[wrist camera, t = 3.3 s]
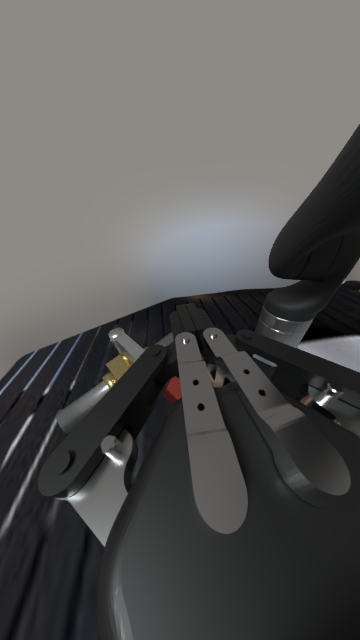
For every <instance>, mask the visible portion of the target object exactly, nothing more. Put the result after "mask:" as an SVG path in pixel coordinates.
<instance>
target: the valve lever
mask: <svg viewBox="0 0 360 640" xmlns="http://www.w3.org/2000/svg"><path fill="white" fill-rule="evenodd" d="M109 337H110V339H111V341H112V343H113V345H114V347H115V348H117V349H120V350H121V351H122V353H123V354H124V355H125V356H126V357H127V358H128V359H129V360H130V361H131V362H132V363H134V362H135V361H136V360H137V359H138V358H139V357H140V356H141V354H142V353H143V352H144V351H145V350H144V349H142V348H141V347H140V346H139V345H138V344H137V343H135V342H134V341H133V340H132V339H131V338H130V337H129V336H127V335H126V334H125V333H124V330H123V329H122V328H115V329H113V330H111V331H110V332H109ZM163 395H164V396H165V397H166V398H167V400H168V401H169V402H170V403H171V404H172V405H173V404H174V403H175V402H176V401H177V400H179V399H180V398H182V397H181V388H180V380H179V379H178V378H177V377H176V376H175V377H173V378H171V380H170V383H169V384H168V386H167V387H166V389H165V391H164V392H163Z"/></svg>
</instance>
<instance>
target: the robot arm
mask: <svg viewBox="0 0 360 640" xmlns="http://www.w3.org/2000/svg"><path fill="white" fill-rule="evenodd" d="M359 258H360V125H359V126H358V127H357V129H356V130H355V132H354V133H353V135H352V136H351V138H350V139H349V141H348V142H347V144H346V145H345V146H344V148H343V150H342V151H341V152H340V154H339V155H338V157H337V158H336V160H335V161H334V163H333V164H332V166H331V167H330V168H329V169H328V171H327V172H326V174H325V175H324V177H323V178H322V179H321V181H320V182H319V183H318V185H317V186H316V187H315V188H314V190H313V191H312V192H311V193H310V195H309V196H308V197H307V198H306V200H305V201H304V202H303V203H302V205H301V206H300V207H299V208H298V210H297V211H296V212H295V213H294V215H293V216H292V217H291V218H290V220H289V221H288V222H287V223H286V225H285V226H284V227H283V229H282V230H281V232H280V233H279V235H278V237H277V238H276V240H275V242H274V244H273V247H272V249H271V252H270V255H269V269H270V271H271V273H272V274H273V275H274V276H276V277H278V278H282V279H292V280H301V281H299V282H297V283H295V284H293V285H291V286H287V287H283V288H279V289H276V290H273V291H271V292H270V293H269V294H268V295H267V297H266V299H265V302H264V305H263V308H262V311H261V314H260V318H259V321H258V324H257V327H256V330H255V332H253V331H250V330H239V331H238V332H237V334H236V335H226V334H224V333H223V332H222V331H221V330H219V329H217V328H215V327H214V325H213V323H212V322H211V320H210V319H209V317H208V315H207V314H206V312H205V311H204V310H203V309H201V308H196V306H195V305H194V303H192V304H186V305H179V306H176V309H177V312H171V315H170V322H171V330H172V334H173V339H174V341H173V342H172V343H171V344H170V345H168V346H166V347H164V346H162V345H159V344H156V345H152V346H150V347H148V348H147V349H146V350H145V351H144V352H143V353H142V354H141V356H140V357H139V358H138V359H137V360H136V361H135V362H134V363H133V364H132V365H131V367H130V368H129V369H128V370H127V371H126V372H125V373H124V374H123V375H122V376H121V378H120V379H119V380H118V381H117V382H116V383H115V384H114V385H113V386H112V387H111V389H110V390H109V391H108V392H107V393H106V394H105V395H104V396H103V397H102V398H101V400H100V401H99V402H98V403H97V404H96V405H95V406H94V407H93V408H92V410H91V411H90V412H89V413H88V414H87V415H86V416H85V417H84V418H83V419H82V421H81V422H80V423H79V424H78V425H77V426H76V427H75V428H74V429H73V430H72V432H71V433H70V434H69V435H68V436H67V437H66V438H65V439H64V440H63V441H62V443H61V444H60V445H59V446H58V447H57V448H56V449H55V450H54V451H53V452H52V454H51V455H50V456H49V457H48V459H47V460H46V462H45V463H44V465H43V467H42V469H41V472H40V475H39V479H38V488H39V491H40V493H41V494H42V495H44V496H49V497H56V498H57V499H59V500H64V501H69V502H70V503H71V504H72V506H73V507H74V508H75V510H76V511H77V512H78V513H79V515H80V516H81V517H82V518H83V520H84V521H85V522H86V524H87V525H88V526H89V527H90V529H91V530H92V531H93V533H94V534H95V535H96V536H97V538H98V539H99V540H100V541H101V543H102V544H103V545H104V547H105V548H104V552H103V556H102V561H101V566H100V572H99V580H98V594H97V612H98V624H99V631H100V637H101V640H360V373H359V372H357V371H354V370H352V369H349V368H346V367H344V366H341V365H339V364H336V363H333V362H331V361H328V360H326V359H323V358H320V357H318V356H315V355H313V354H310V353H307V352H305V351H302V350H300V349H297V348H296V347H297V346H298V344H299V342H300V341H301V339H302V337H303V336H304V334H305V333H306V331H307V329H308V327H309V326H310V324H311V322H312V321H313V319H314V317H315V316H316V314H317V313H318V312H319V311H321V310H322V309H323V308H324V307H325V306H326V305H327V304H328V302H329V301H330V299H331V298H332V296H333V295H334V293H335V292H336V291H337V289H338V288H339V287H340V285H341V284H342V282H343V281H344V280H345V278H346V277H347V275H348V274H349V273H350V272H351V270H352V268H353V267H354V265H355V264H356V263H357V261H358V260H359ZM200 353H201V354H200ZM201 355H202V358H201ZM178 374H179V379H180V388H181V397H182V398H180V399H179V400H177V401H176V402H175V403H174V404H173V405H172V406H171V408H170V409H169V410H168V412H167V414H166V416H165V418H164V420H163V422H162V424H161V426H160V428H159V430H158V432H157V434H156V436H155V438H154V440H153V442H152V445H151V447H150V449H149V451H148V453H147V455H146V457H145V459H144V461H143V463H142V465H141V467H140V469H139V471H138V473H137V476H136V478H135V480H134V482H133V484H132V486H131V476H132V471H133V468H134V465H135V463H136V461H137V457H138V446H137V443H136V441H135V439H136V437H137V436H138V434H139V432H140V431H141V429H142V427H143V426H144V424H145V422H146V421H147V419H148V417H149V416H150V414H151V412H152V411H153V409H154V407H155V406H156V404H157V402H158V401H159V399H160V397H161V396H162V394H163V392H164V391H165V389H166V387H167V386H168V384H169V383H170V380H171V378H173V377H175V376H177V375H178ZM211 381H212V382H211ZM212 384H213V386H212Z"/></svg>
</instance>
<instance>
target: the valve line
mask: <svg viewBox="0 0 360 640" xmlns="http://www.w3.org/2000/svg"><path fill="white" fill-rule="evenodd" d="M173 341H174V339H173V334H172V332H171V333H170V334H168V335H167V336H165V337H164V338H163V339H161V340H160V341H158V342H157V343H156V344H159V345H162V346H164V347H166V346H168V345H170V344H171V343H172V342H173ZM156 344H154V345H156ZM147 348H148V347H147V346H146V347H145V348H143V349H144V350H146V349H147ZM118 351H119V353H120V355H119V356H118V357H116V358H115V359H113V360H111V361H110V362H108V363H107V364H106V366H107V367H108V369H109V371H110V372H109V373H107V374H106V375H104V376H103V377H102V379H103V380H104V381H102V382H101V383H99V384H98V385H97V386H95V387H94V388H92V389H91V390H90V391H88V392H87V393H85V394H84V395H82V396H81V397H80V398H78V399H77V400H75V401H74V402H73V403H71V404H70V405H68V406H67V407H66V408H64V409H63V410H61V411H60V412H59V413H57V414H56V419H57V421H58V424H59V425H60V427H61V428H62V430H63V431H64V432H65V433H67V434H70V433H71V432H72V430H73V429H74V428H75V427H76V426H77V425H78V424H79V423H80V422H81V421H82V419H83V418H84V417H85V416H86V415H87V414H88V413H89V412H90V411H91V410H92V408H93V407H94V406H95V405H96V404H97V403H98V402H99V401H100V400H101V398H102V397H103V396H104V395H105V394H106V393H107V392H108V391H109V390H110V389H111V387H112V386H113V385H114V384H115V383H116V382H117V381H118V380H119V379H120V378H121V376H122V375H123V374H124V373H125V372H126V371H127V370H128V369H129V368H130V367H131V365H132V364H133V363H132V362H131V361H130V360H129V359H128V358H127V357H126V356H125V355H124V354H123V353H122V351H121V350H120V349H118Z"/></svg>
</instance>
